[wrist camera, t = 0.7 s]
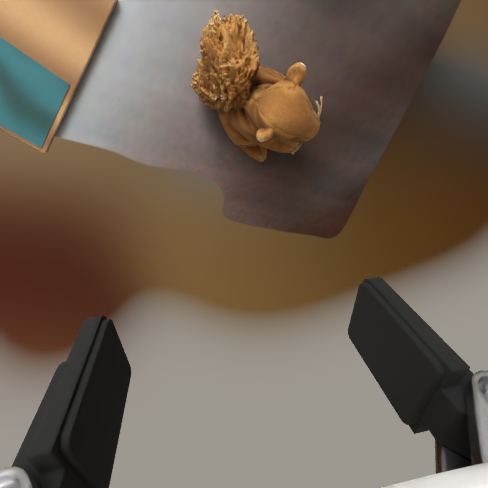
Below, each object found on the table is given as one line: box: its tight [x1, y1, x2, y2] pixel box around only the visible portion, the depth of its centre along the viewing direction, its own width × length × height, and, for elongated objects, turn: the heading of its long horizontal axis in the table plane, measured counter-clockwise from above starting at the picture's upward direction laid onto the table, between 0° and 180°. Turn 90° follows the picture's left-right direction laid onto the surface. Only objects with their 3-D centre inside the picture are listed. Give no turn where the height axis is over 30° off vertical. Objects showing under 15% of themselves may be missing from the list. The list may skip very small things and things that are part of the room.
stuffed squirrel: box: [190, 9, 323, 162], centre depth 27 cm, size 10×14×13 cm
